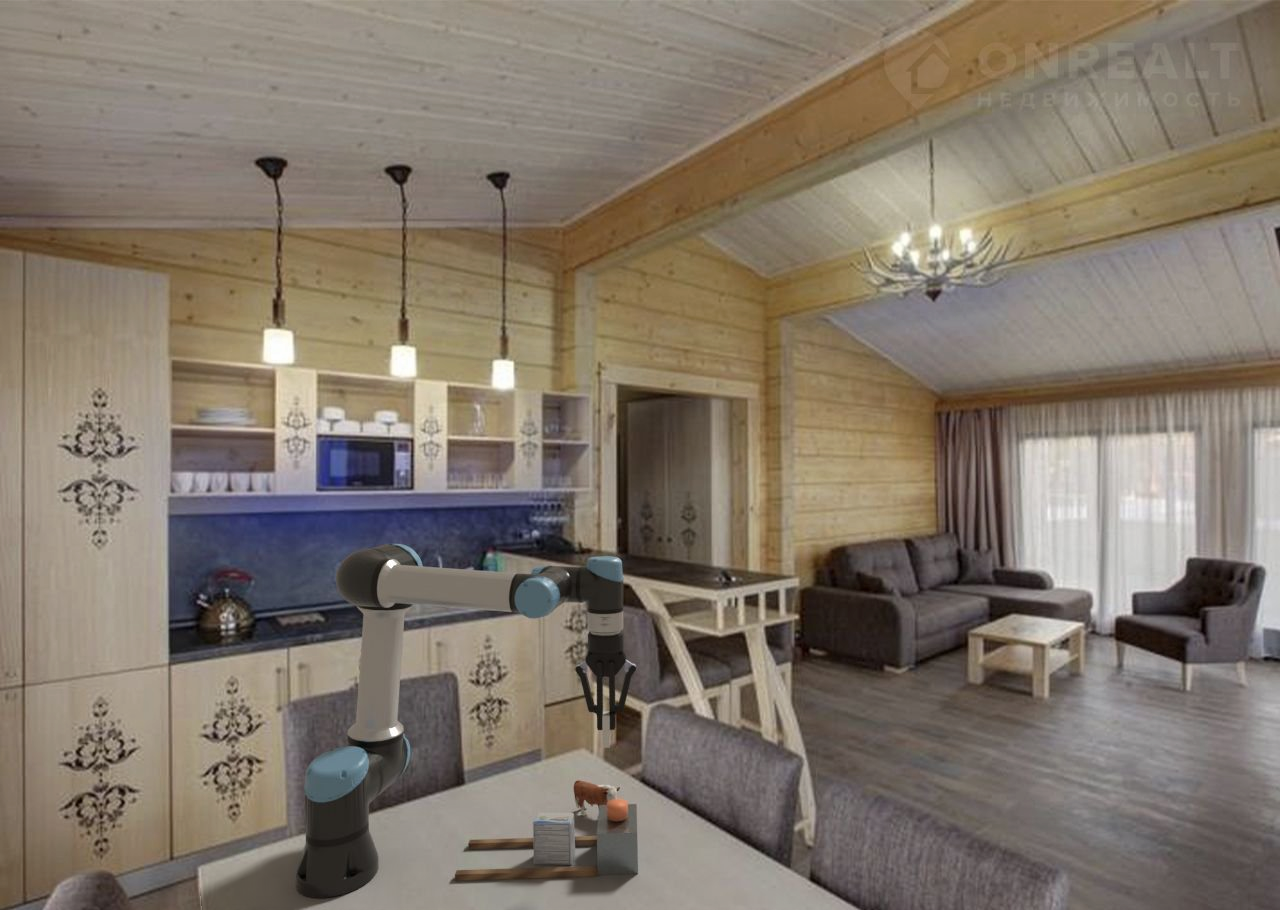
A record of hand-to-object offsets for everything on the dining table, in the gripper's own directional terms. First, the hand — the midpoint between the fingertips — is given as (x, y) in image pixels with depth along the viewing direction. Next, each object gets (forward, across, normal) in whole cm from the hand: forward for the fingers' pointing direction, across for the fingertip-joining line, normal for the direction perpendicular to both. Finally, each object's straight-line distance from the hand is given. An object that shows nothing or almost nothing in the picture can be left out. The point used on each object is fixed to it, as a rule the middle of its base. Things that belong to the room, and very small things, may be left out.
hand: (606, 745), depth 146 cm
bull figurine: (+23, -3, +17) cm, 29 cm away
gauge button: (+18, +2, -1) cm, 18 cm away
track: (+23, -16, -1) cm, 28 cm away
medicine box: (+23, -11, -1) cm, 26 cm away
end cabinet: (+23, +2, -1) cm, 23 cm away
